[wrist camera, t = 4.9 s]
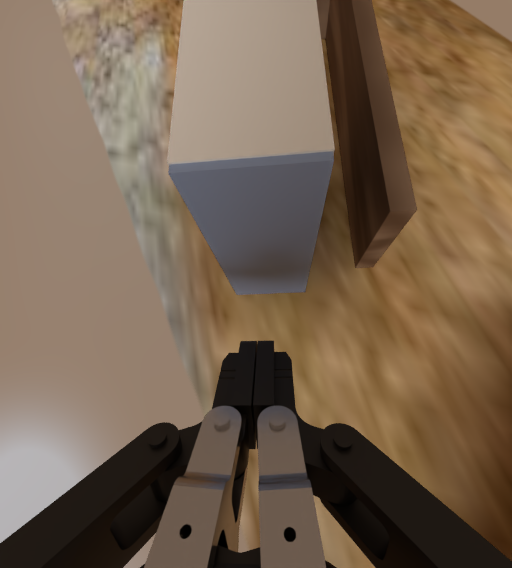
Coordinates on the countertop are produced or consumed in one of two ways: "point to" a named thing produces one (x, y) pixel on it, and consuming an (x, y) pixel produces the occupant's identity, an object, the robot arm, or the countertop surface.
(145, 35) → the countertop surface
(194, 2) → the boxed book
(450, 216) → the countertop surface
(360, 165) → the shelf corner
